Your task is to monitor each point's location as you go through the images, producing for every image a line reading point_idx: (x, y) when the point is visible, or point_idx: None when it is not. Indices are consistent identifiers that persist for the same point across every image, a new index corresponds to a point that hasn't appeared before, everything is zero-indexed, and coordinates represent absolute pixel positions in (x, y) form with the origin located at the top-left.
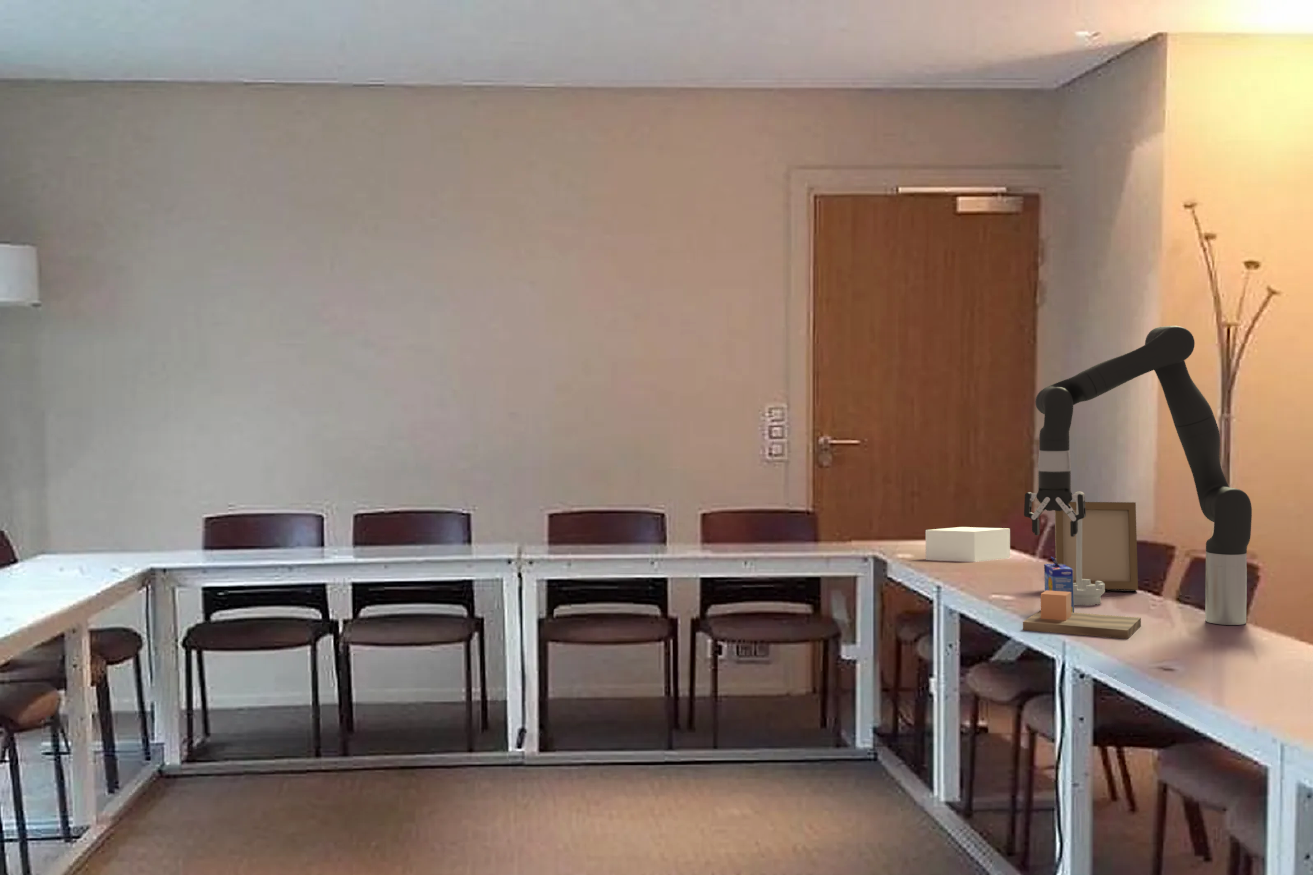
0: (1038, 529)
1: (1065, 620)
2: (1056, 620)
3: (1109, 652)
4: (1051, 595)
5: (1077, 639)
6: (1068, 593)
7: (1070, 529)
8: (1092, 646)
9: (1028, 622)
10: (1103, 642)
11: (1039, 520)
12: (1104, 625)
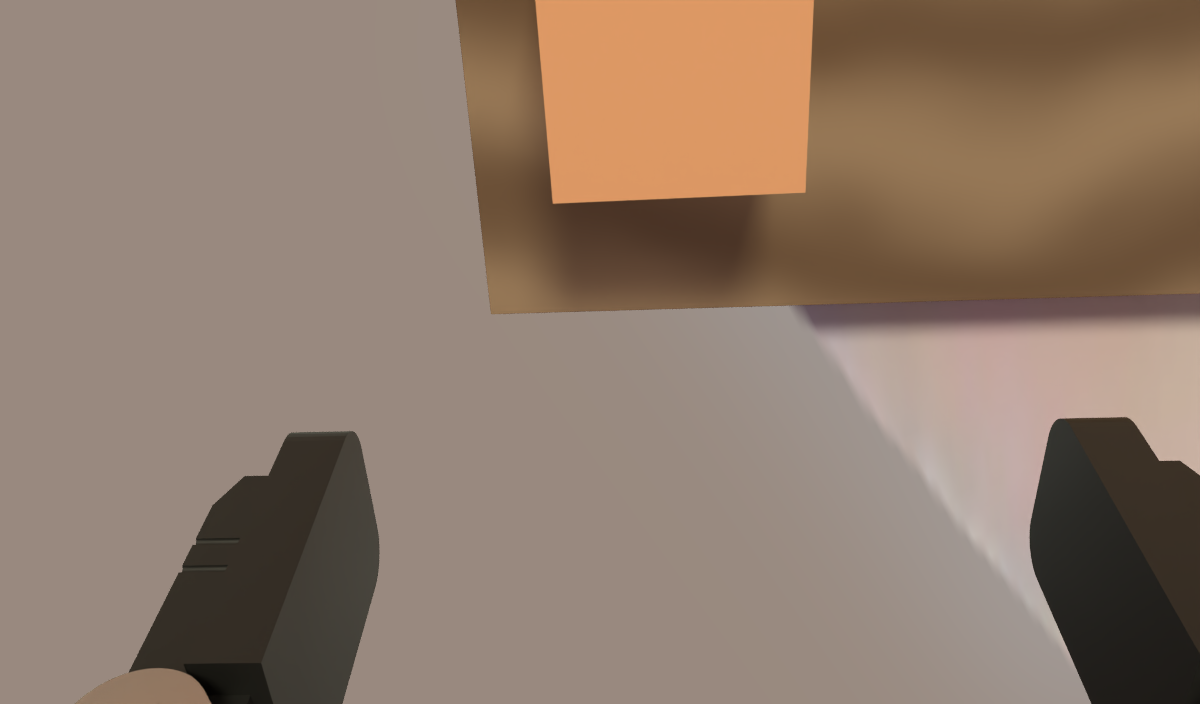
0: (344, 571)
1: None
2: None
3: None
4: (658, 194)
5: (903, 413)
6: (805, 51)
7: (1074, 660)
8: (1008, 552)
9: (533, 311)
10: None
11: (268, 642)
12: (1096, 189)
